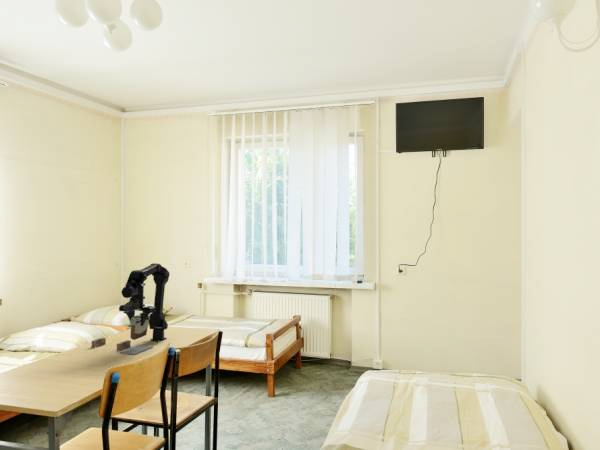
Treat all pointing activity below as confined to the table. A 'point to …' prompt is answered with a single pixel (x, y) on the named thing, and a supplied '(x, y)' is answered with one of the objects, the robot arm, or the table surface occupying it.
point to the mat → (136, 349)
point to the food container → (138, 327)
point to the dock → (119, 346)
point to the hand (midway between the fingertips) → (137, 325)
